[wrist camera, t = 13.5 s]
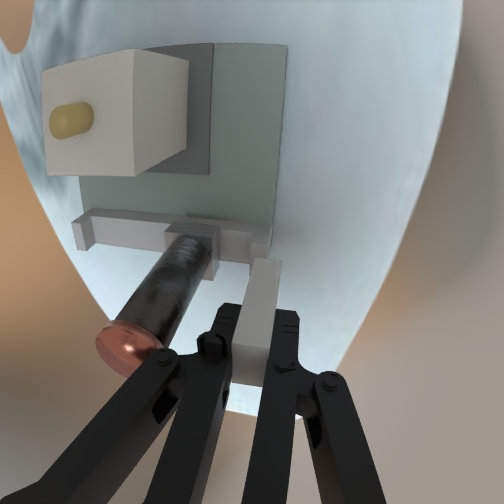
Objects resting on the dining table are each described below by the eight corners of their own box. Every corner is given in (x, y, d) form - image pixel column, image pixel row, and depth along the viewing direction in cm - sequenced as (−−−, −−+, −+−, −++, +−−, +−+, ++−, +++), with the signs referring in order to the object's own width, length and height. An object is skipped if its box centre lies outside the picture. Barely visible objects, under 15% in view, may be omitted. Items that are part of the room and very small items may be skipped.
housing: (111, 69, 16) (20, 73, 9) (189, 60, 16) (114, 44, 8) (111, 148, 19) (28, 185, 12) (186, 148, 19) (116, 187, 11)
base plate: (85, 64, 18) (49, 65, 14) (287, 49, 16) (284, 36, 12) (96, 225, 25) (68, 248, 21) (270, 245, 24) (264, 277, 20)
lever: (174, 220, 20) (87, 324, 11) (219, 225, 20) (153, 342, 11) (176, 260, 22) (106, 371, 12) (219, 266, 21) (166, 389, 12)
